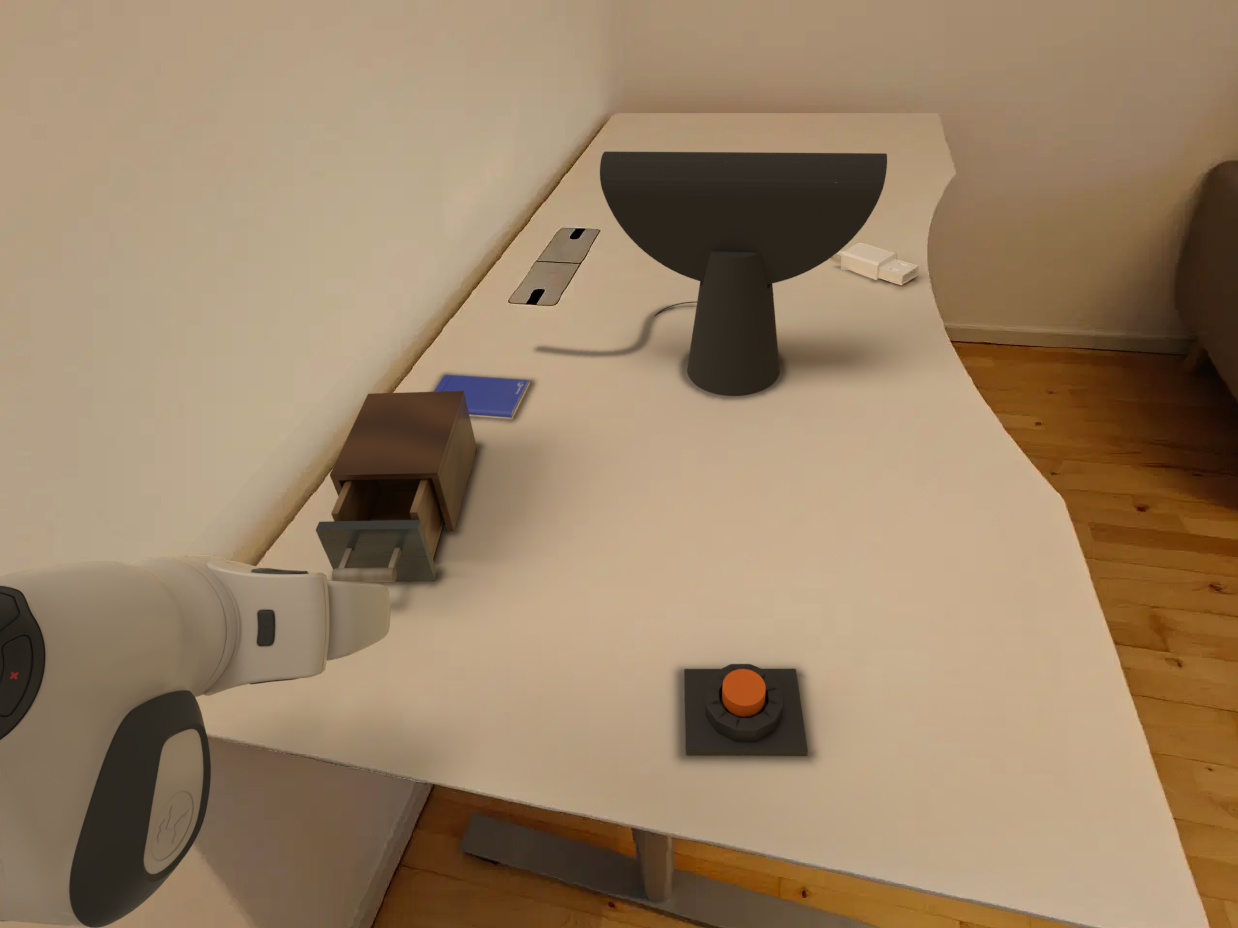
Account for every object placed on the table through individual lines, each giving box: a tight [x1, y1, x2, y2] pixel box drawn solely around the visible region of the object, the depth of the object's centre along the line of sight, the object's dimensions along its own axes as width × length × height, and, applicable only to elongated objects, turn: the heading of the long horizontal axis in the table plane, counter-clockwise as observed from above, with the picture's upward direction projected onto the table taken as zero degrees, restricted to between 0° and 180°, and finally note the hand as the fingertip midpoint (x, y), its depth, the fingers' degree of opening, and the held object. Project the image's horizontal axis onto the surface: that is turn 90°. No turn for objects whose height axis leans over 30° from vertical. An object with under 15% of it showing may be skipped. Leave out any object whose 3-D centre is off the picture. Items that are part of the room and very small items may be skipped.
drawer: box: [315, 478, 445, 583], centre depth 86 cm, size 18×10×8 cm, turn 177°
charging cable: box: [835, 241, 920, 286], centre depth 134 cm, size 5×32×3 cm, turn 41°
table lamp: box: [599, 151, 888, 397], centre depth 104 cm, size 40×28×30 cm
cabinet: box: [329, 391, 478, 533], centre depth 93 cm, size 15×12×10 cm
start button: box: [722, 669, 766, 717], centre depth 69 cm, size 4×4×2 cm
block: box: [683, 663, 808, 757], centre depth 70 cm, size 8×10×4 cm
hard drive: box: [433, 374, 531, 420], centre depth 109 cm, size 2×8×12 cm
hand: (291, 603), depth 64 cm, fingers open, 4 cm apart
